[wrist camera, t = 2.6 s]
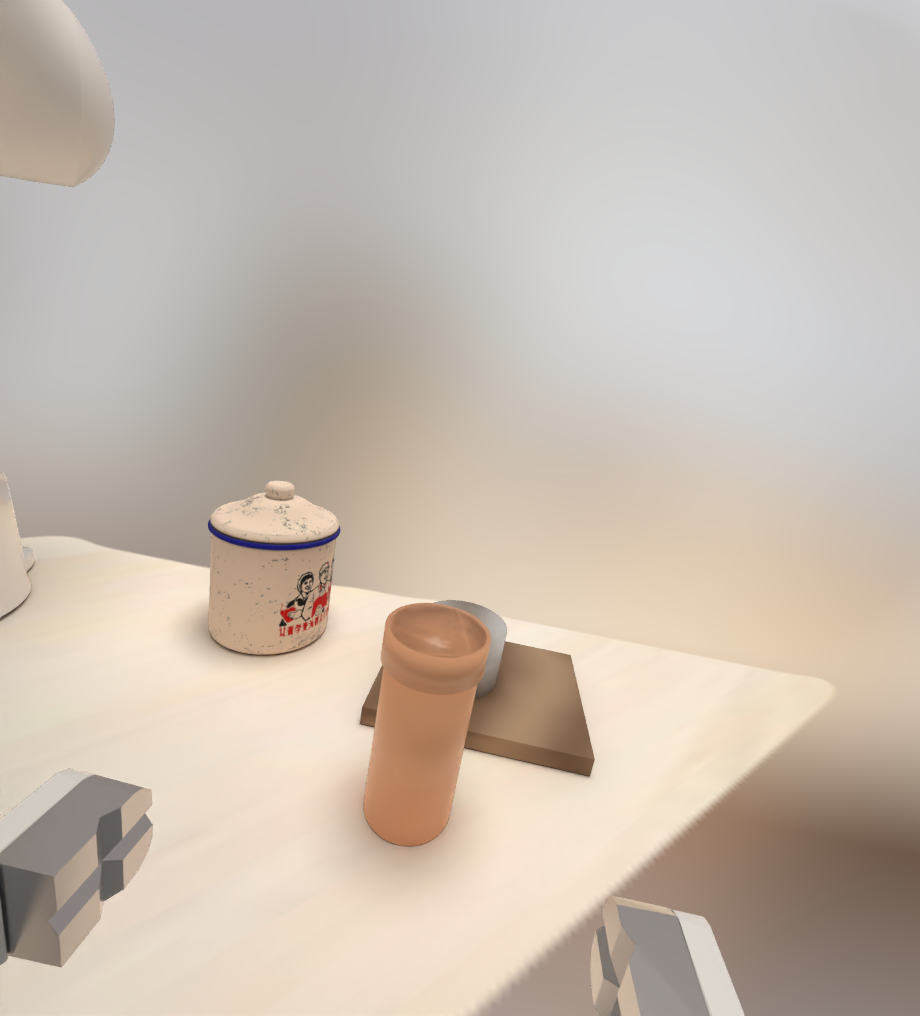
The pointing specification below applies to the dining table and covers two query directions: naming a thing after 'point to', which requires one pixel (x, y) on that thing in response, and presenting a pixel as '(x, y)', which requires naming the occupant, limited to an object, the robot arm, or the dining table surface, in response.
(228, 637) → the teacup with lid
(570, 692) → the stud board
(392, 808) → the peach lidded canister
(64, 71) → the robot arm
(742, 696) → the dining table surface
